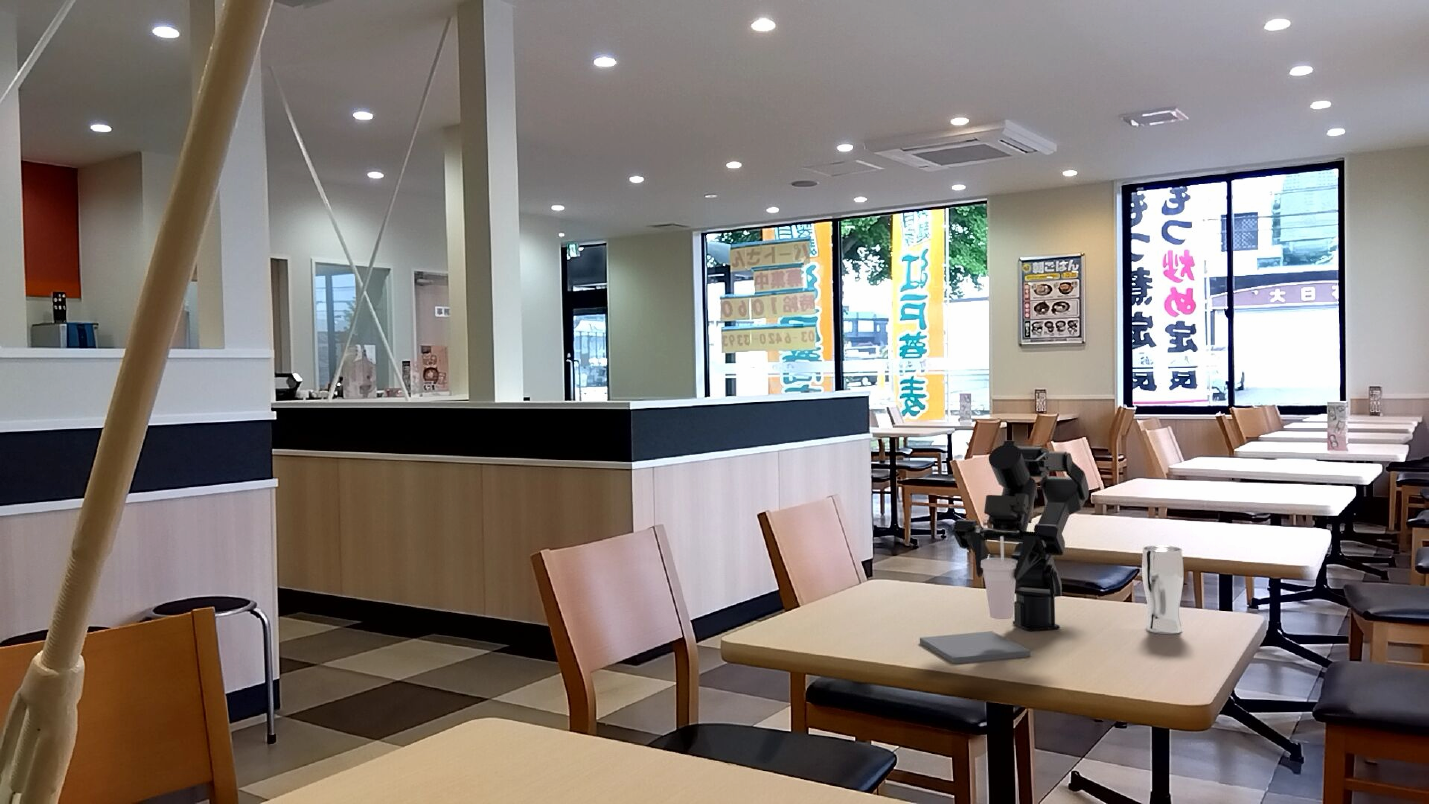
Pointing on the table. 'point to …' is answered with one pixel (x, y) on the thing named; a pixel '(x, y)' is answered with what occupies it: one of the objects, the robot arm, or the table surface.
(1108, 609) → the table surface
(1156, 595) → the beer glass
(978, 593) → the table surface
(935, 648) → the placemat
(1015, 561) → the smoothie
